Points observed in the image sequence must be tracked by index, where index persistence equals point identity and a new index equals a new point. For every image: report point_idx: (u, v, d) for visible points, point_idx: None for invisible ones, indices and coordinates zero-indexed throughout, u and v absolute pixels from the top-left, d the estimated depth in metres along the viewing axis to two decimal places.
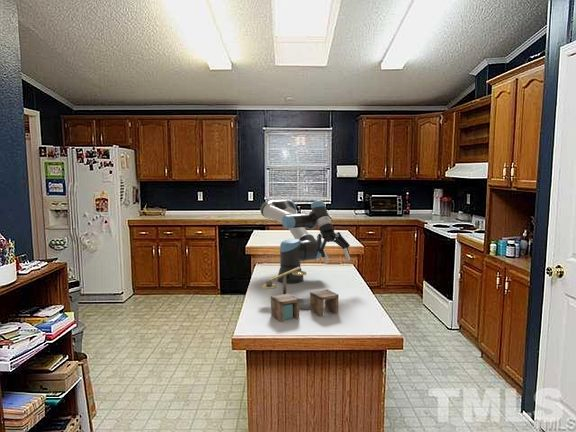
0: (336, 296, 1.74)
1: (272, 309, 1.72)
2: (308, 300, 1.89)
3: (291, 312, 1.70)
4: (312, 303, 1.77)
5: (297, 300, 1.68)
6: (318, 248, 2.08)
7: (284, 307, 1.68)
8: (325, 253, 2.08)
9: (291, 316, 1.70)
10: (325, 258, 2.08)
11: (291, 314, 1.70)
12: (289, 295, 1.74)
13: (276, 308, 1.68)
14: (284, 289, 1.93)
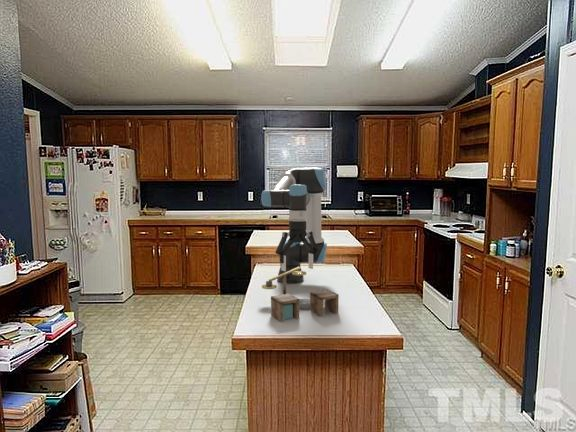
0: (336, 296, 1.74)
1: (272, 309, 1.72)
2: (308, 300, 1.89)
3: (291, 312, 1.70)
4: (312, 303, 1.77)
5: (297, 300, 1.68)
6: (278, 253, 1.66)
7: (284, 307, 1.68)
8: (284, 260, 1.68)
9: (291, 316, 1.70)
10: (283, 265, 1.69)
11: (291, 314, 1.70)
12: (289, 295, 1.74)
13: (276, 308, 1.68)
14: (284, 289, 1.93)
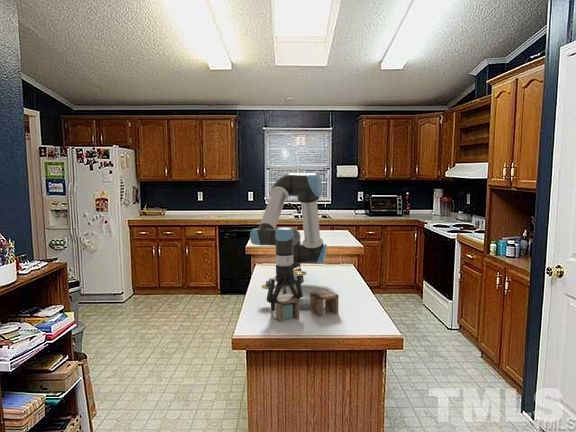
0: (336, 296, 1.74)
1: None
2: (308, 300, 1.89)
3: (291, 312, 1.70)
4: (312, 303, 1.77)
5: (297, 300, 1.68)
6: (269, 301, 1.66)
7: (284, 307, 1.68)
8: (275, 308, 1.68)
9: (291, 316, 1.70)
10: (274, 312, 1.69)
11: (291, 314, 1.70)
12: (289, 295, 1.74)
13: None
14: (284, 289, 1.93)
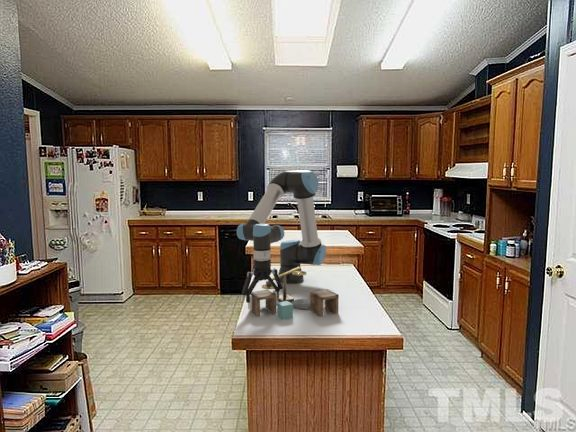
0: (336, 296, 1.74)
1: None
2: (308, 300, 1.89)
3: (291, 312, 1.70)
4: (312, 303, 1.77)
5: (274, 296, 1.75)
6: (244, 293, 1.71)
7: (284, 307, 1.68)
8: (250, 300, 1.73)
9: (291, 316, 1.70)
10: (249, 304, 1.74)
11: (291, 314, 1.70)
12: (267, 291, 1.80)
13: (254, 303, 1.74)
14: (284, 289, 1.93)
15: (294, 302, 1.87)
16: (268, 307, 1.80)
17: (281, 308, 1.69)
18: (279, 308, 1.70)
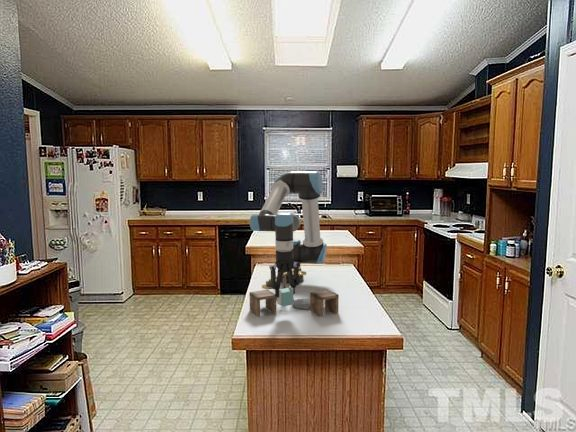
0: (336, 296, 1.74)
1: (250, 304, 1.78)
2: (308, 300, 1.89)
3: (291, 299, 1.70)
4: (312, 303, 1.77)
5: (274, 296, 1.75)
6: (273, 288, 1.67)
7: (284, 294, 1.68)
8: (280, 294, 1.68)
9: (291, 303, 1.70)
10: (278, 299, 1.70)
11: (291, 301, 1.70)
12: (267, 291, 1.80)
13: (254, 303, 1.74)
14: None
15: (294, 302, 1.87)
16: (268, 307, 1.80)
17: (281, 295, 1.69)
18: None
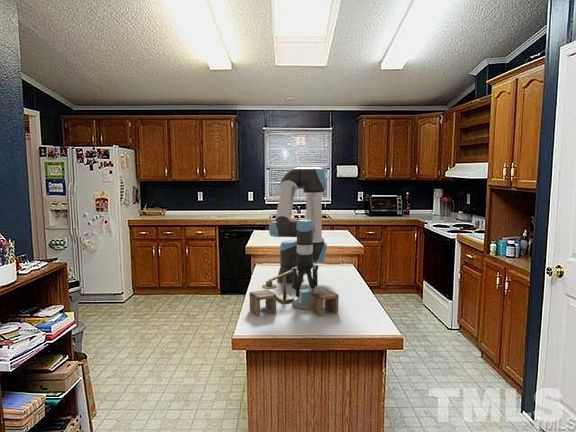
0: (336, 296, 1.74)
1: (250, 304, 1.78)
2: None
3: None
4: (312, 303, 1.77)
5: (274, 296, 1.75)
6: (294, 288, 1.81)
7: (304, 293, 1.83)
8: (300, 294, 1.83)
9: None
10: (299, 298, 1.84)
11: None
12: (267, 291, 1.80)
13: (254, 303, 1.74)
14: (284, 289, 1.93)
15: (294, 302, 1.87)
16: (268, 307, 1.80)
17: None
18: None
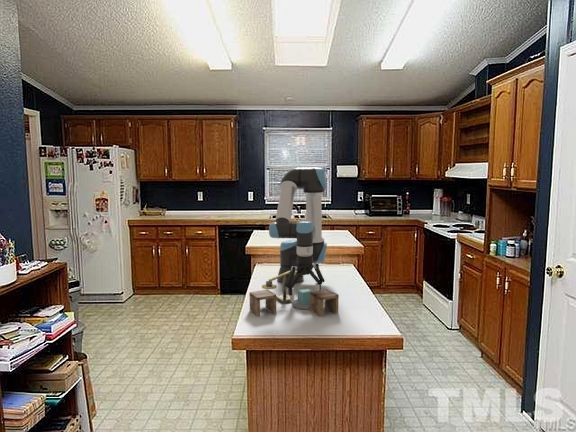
0: (336, 296, 1.74)
1: (250, 304, 1.78)
2: None
3: None
4: (312, 303, 1.77)
5: (274, 296, 1.75)
6: (287, 286, 1.80)
7: (304, 293, 1.83)
8: (293, 292, 1.81)
9: None
10: (291, 297, 1.82)
11: None
12: (267, 291, 1.80)
13: (254, 303, 1.74)
14: (284, 289, 1.93)
15: (294, 302, 1.87)
16: (268, 307, 1.80)
17: (301, 295, 1.83)
18: (299, 295, 1.85)
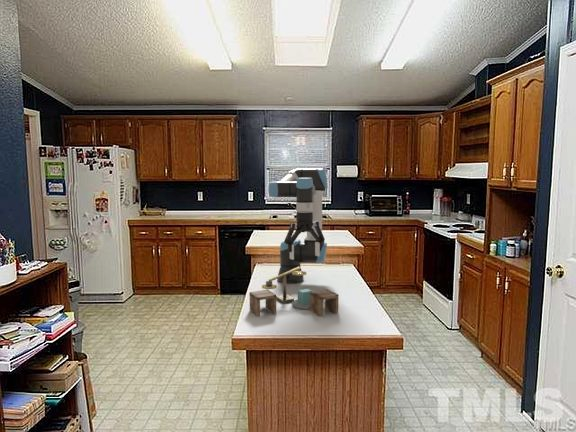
0: (336, 296, 1.74)
1: (250, 305, 1.78)
2: None
3: None
4: (312, 303, 1.77)
5: (274, 296, 1.75)
6: (286, 242, 1.78)
7: (304, 293, 1.83)
8: (292, 249, 1.79)
9: None
10: (291, 254, 1.80)
11: None
12: (267, 291, 1.80)
13: (254, 303, 1.74)
14: (284, 289, 1.93)
15: (294, 302, 1.87)
16: (268, 307, 1.80)
17: (301, 295, 1.83)
18: (299, 295, 1.85)
